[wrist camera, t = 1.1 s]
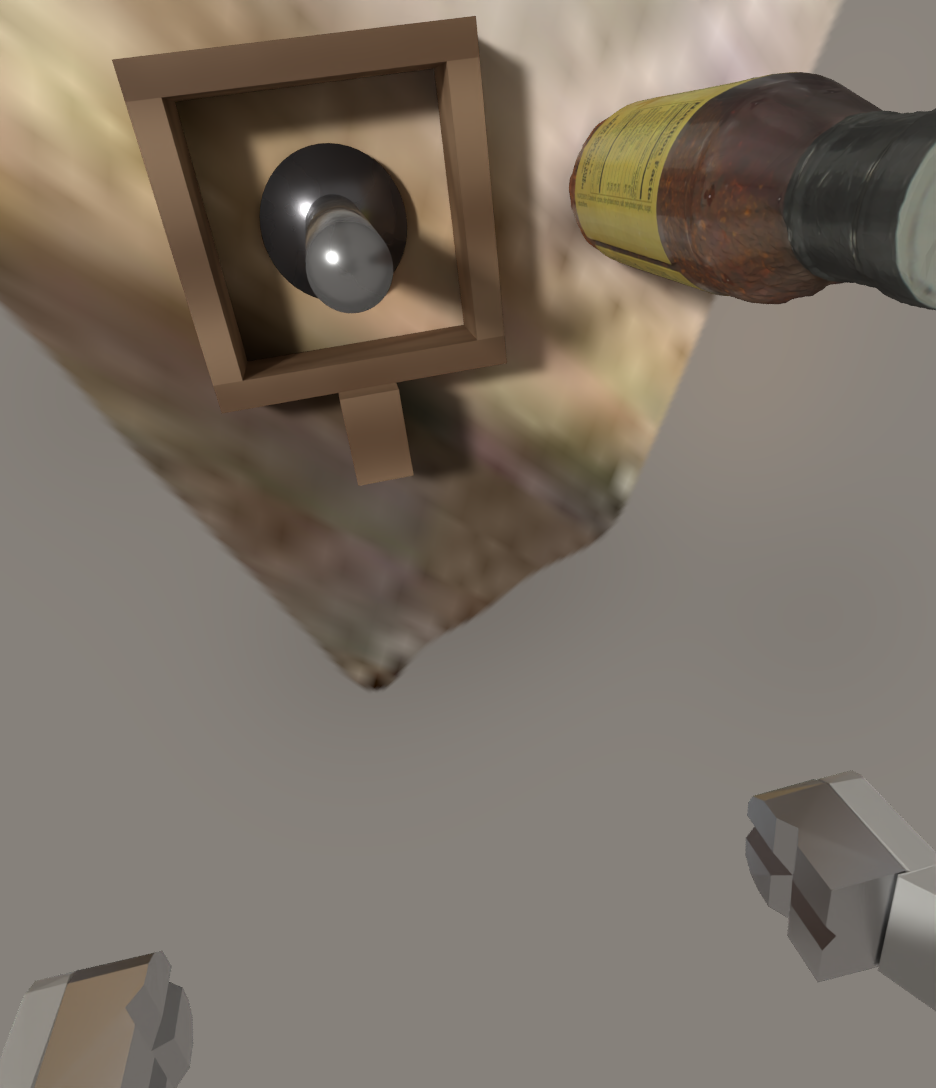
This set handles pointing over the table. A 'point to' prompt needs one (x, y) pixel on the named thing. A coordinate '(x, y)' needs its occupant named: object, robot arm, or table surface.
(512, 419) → the table surface
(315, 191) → the grey plunger shape
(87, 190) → the table surface
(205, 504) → the table surface
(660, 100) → the sauce bottle
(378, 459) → the wooden frame with handle
